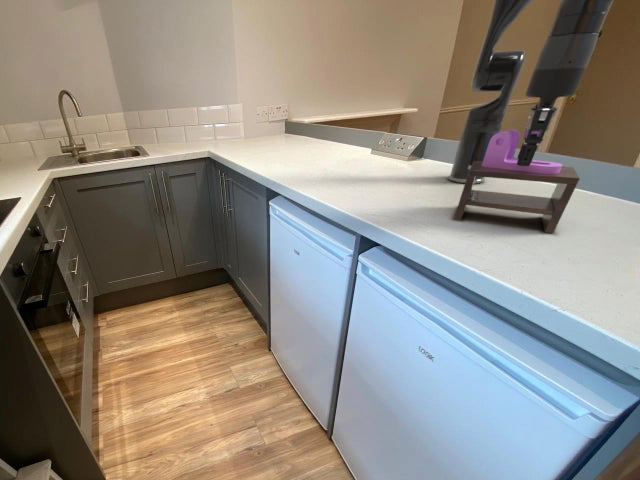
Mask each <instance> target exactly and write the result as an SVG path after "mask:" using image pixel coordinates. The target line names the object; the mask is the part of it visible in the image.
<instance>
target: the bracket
mask: <svg viewBox="0 0 640 480" xmlns="http://www.w3.org/2000/svg"><path fill="white" fill-rule="evenodd" d="M520 140H521V133H520V132H519V130H517V129H513V128H512V129H507V130H504V131H500V132H499V133H497V134H495V135H494V136H493V137H492V138H491V139H490V142H489V145H488V148H487V151H486V154H485V157H484V160H483V163H482V166H483V167H491V168H499V169H507V170H515V171H524V172H532V173H540V174H557V173H559V172H560V170H561V168H562V167H563V163H559V162H555V161H548V160H547V161H546V160H538V159H536V160H535V159H532V161H531V164H530V165H529V166H519V165H517V161H518V157H517V158H516V157H515V156H514V155H515V153H516V150H517V148H518V145H519V143H520Z"/></svg>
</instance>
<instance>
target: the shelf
mask: <svg viewBox="0 0 640 480" xmlns="http://www.w3.org/2000/svg"><path fill="white" fill-rule="evenodd" d="M482 163H483V161H474V162H473V164H472V166H471V168H470V170H469V173H468V176H467V179H466V182H465V183H464V185H463V189H462V192H461V195H460V199H459V201H458V205H457V208H456V210H455V214H454V217H453V220H455V221H461V220H462V218H463V216H464V213H465V211H466V208H467V206H471V207H480V208H487V209H494V210H505V211H512V212H521V213H529V214H535V215H536V214H537V215H542V216H541V219H542V226H543V232H544V233H545V234H554V232H555V230H556V229H557V226H558V224H559V222H560V220H561V218H562V216H563V214H564V212H565V210H566V208H567V206H568V204H569V202H570V199H571V197H572V196H573V193H574V192H575V189H576V187H577V185H578V183H579V181H580V176H579V175H578V173H577V171H576V169H575V168H574V167H573V166H562V168H561V170H560V172H559V173H557V174H540V173H532V172H524V171H515V170H507V169H499V168H491V167H483V166H482ZM476 176H479V177H484V178H494V179H504V180H514V181H516V180H517V181H528V182H538V183H551V184H556V186H555V188H554V190H553V192H552V194H551V197H546V196H536V195H526V194H516V193H508V192H507V193H506V192H496V191H487V190H479V189H478V190H476V189H473V187H474V185H475V183H474V181H475V178H476Z"/></svg>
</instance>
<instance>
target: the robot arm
mask: <svg viewBox="0 0 640 480" xmlns="http://www.w3.org/2000/svg"><path fill="white" fill-rule="evenodd" d="M493 1H494V2H493V5H492V9H491V14H490V18H489V22H488V26H487V29H486V32H485V35H484V37H483V41H482V45H481V47H480V51H479V55H478V57H477V60H476V63H475V67H474V69H473V74H472V77H471V84H470V88H471V90H472V91H473V92H475V93H491V92H492V93H493V92H495V93H496V92H499V93H498V95H497V96H496V97H495V98H493V99H491V100H490V101H487V102H485V103H482V104H479V105H476V106H473V107H471V108H469V110H468V112H467V115H466V119H465V122H464V125H463V129H462V132H461V137H460V140H459V144H458V147H457V150H456V154H455V157H454V161H453V163H452V166H451V167H452V168H451V171H450V174H449V177H448V180H449V181H451V182H455V183H460V184H465V182H466V179H467V176H468V173H469V170H470V168H471V166H472V164H473V162H474V161H483V160H484V157H485V154H486V151H487V148H488V145H489V142H490V139H491V138H492V137H493V136H494V135H495V134H497V133H499V132H501V129H502V125H503V123H504V120H505V117H506V114H507V111H508V109H509V104H510V102H511V99H512V96H513V93H514V91H515V88H516V86H517V84H518V81H519V78H520V76H521V73H522V71H523V68H524V65H525V61H526V52H525V50H522V49H513V50H511V49H510V50H497V51H495V49H496V47H497V45H498V43H499V42H500V40H501V38H502V37H503V35H504V34H505V33H506V32H507V30H508V29H509V28H510V26H511V25H512V24H513V23H514V21H516V19H517V18H518V17H519V16H520V15H521V14H522V13H523V11H524V10H526V8H527V7H528V6H530V4H531V3H532V1H533V0H493ZM614 1H615V0H561V2H560V3H559V5H558V8H557V10H556V13H555V15H554V19H553V21H552V24H551V26H550V29H549V32H548V35H547V38H546V40H545V43H544V44H543V47H542V49H541V50H540V52H539V55H538V57H537V61H536V63H535V67H534V69H533V72H532V75H531V78H530V80H529V83H528V86H527V89H526V92H525V96H526V97H528V98H539V100H538V103H536V104H535V105H534V106H533V107H531V108H530V110H529V113H528V118H527V119H528V120H527V122H526V123H525V127H524V135H523V142H522V145H521V147H520V150H519V153H518V155H517V159H518V161H517V165H519V166H529V165H530V164H531V161H532V160H534V156H535V154H536V151H537V149H538V147H539V146H540V145H541V143H542V142H543V141H544V136H545V135H546V134H547V132H548V131H549V128H550V126H551V123H552V120H553V119H554V118H555V116H556V114H557V111H558V109H559V108H558V107H557V106H555V104H556V101H557V99H558V98H565V97H572V96H573V97H574V95H576V93H577V91H578V89H579V86H580V85H581V82H582V79H583V77H584V75H585V73H586V70H587V68H588V66H589V63H590V61H591V58H592V57H593V53H594V51H595V48H596V46H597V45H596V44H597V41H598V38H599V35H600V32H601V31H602V28H603V26H604V23H605V20H606V19H607V16H608V13H609V12H610V9H611V7H612V4H613V2H614ZM484 180H485V177H479V176H476V178H475V181H474V184H482V183H483V182H484Z"/></svg>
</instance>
